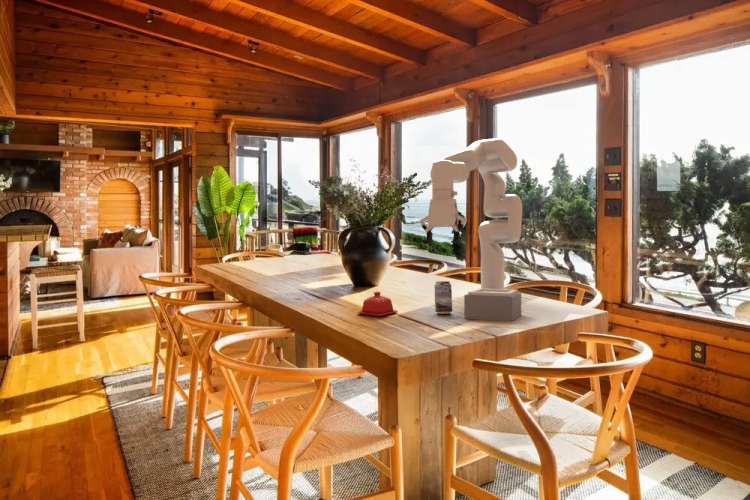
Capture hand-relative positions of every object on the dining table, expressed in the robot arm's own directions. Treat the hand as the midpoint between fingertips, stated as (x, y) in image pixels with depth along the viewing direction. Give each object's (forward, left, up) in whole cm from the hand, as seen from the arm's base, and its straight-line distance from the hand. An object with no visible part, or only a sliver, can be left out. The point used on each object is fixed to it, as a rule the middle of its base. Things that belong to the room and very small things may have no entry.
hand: (442, 243), depth 196 cm
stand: (0, +18, -26) cm, 31 cm away
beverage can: (0, 0, -26) cm, 26 cm away
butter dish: (+8, -22, -26) cm, 35 cm away
